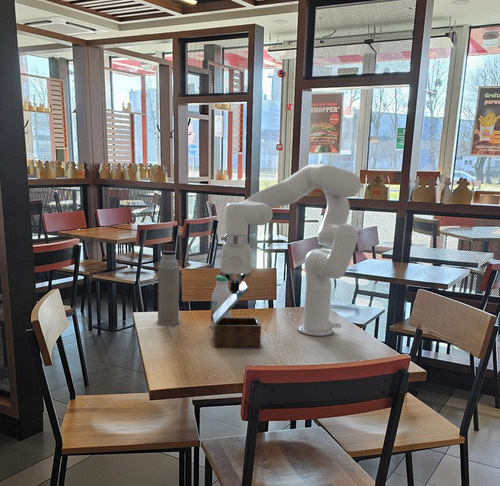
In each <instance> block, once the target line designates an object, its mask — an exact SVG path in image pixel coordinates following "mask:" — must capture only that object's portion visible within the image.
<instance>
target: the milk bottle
mask: <svg viewBox="0 0 500 486" xmlns="http://www.w3.org/2000/svg"><path fill="white" fill-rule="evenodd" d="M215 283H216V284H215V287H214V290H213V291H212V293H211V294H212V295H211V301H210V302H211V303H210V328H211V329H213V314H214V313H215V312H216V311H217V310H218V309H219V308H220V306H221V305H222V304H223V303H224V302H225V301H226V300H227V299H228V298H229V297H230V295H231V294H232V293H231V291H230V288H229V285H228V283H229V280H228V279H227V278H226V277H222V276H220V275H216V276H215ZM224 317H232V308H231V309H230V310H229V312H228V313H227V314H226V315H225V316H224Z"/></svg>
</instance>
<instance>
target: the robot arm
mask: <svg viewBox="0 0 500 486" xmlns="http://www.w3.org/2000/svg"><path fill="white" fill-rule="evenodd" d="M361 187H362V182H361V178H360V177H359V176H358V175H357V174H356V173H354V172H352V171H349V170H345V169H342V168H339V167H337V166H334V165H330V164H326V163H310V164H307V165H305V166H303V167H301V168H300V169H299V170H297V171H295V172H294V173H293V174H291V175H290V176H288V177H287V178H285V179H284V180H282V181H280V182H278V183H276V184H273V185H271V186H269V187H266V188H264V189H262V190H259V191H258V192H256V193H254V194H252V195H250V196H249V197H247V198H246V199H245V200H243V201H242V202H229V203H227V204H226V207H225V228H224V229H225V234H224V235H221V236H220V241H223V242H224V243H222V247H221V252H220V253H221V254H220V263H219V264H220V267H219V268H220V270H219V273H218V274H219V275H220V276H222V277H226V278H227V279H228V282H230V284H229V291H230V292H231V294H237V291H239V285H240V284H241V282H242V281H243V279H245V278H250V277H251V276H252V274H251V271H252V270H251V269H252V253H251V245H250V244H249V243H248V237H249V236H248V233H249V225H254V226H265V225H267V224H269V223H270V222H271V221H272V219H273V209H274V208H279V207H284V206H289V205H292V204H295V203H296V202H298V201H300V200H301V199H302V198H304V197H306V195H308V194H309V193H311V192H313V191H314V190H316V189H318V190H322V192H323V194H324V197H325V199H326V209H325V213H324V215H323V219H322V222H321V224H320V227H319V229H318V234H317V241H318V242H319V244H320V245H321V246H323V247H326V248H331V250H328V249H323V248H314V249H312V250H310V251H308V252H307V254H306V256H305V258H304V270H305V293H304V310H303V324H302V325H300V326H299V327H298V331H299V332H300V333H302V334H304V335H308V336H315V337H316V336H317V337H322V336H329V335H331V334H333V329H334V328H335V329H341V328H342V323H341V322H336V321H331V320H330V309H331V295H332V282H331V280H338V279H341V278H342V277H343V276H344V275H345V274H346V272H347V271H348V269H349V265H350V263H351V261H352V257H353V254H354V251H355V250H356V247H357V242H358V234H357V231H356V228H355V227H354V226H353V225H351V224H348V223H347V222H348V219H349V215H350V211H351V209H350V202H349V199H348V198H352V197H355V196H356V195H358V194H359V192H360V190H361ZM219 275H218V276H219ZM234 275H236V279H234Z"/></svg>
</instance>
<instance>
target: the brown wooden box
mask: <svg viewBox="0 0 500 486" xmlns="http://www.w3.org/2000/svg"><path fill="white" fill-rule="evenodd" d="M261 338H262V325H261V323H260V321H259V318H258V317H233V316H231V317H223V318H222V319H221V320H220V321H219V323H218V324H217V325H216V324H214V319H213V328H212V341H213V346H214V349H227V348H228V349H261V340H262V339H261Z"/></svg>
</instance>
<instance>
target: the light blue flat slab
mask: <svg viewBox="0 0 500 486" xmlns="http://www.w3.org/2000/svg"><path fill="white" fill-rule="evenodd" d="M249 289H250V288H249V286H248V284H247V283H246V282H245V280H242V281H241V282H240V283H239V291H237V294H232V293H230V294H231V295H230V297H229V298H228V299H227V300H226V301H225V302H224V303H223V304H222V305H221V306H220V308H219V309H218V310H217V311H216V312H215V313H214V314H213V319H214V324H216V325H217V324H218V323H219V321H220V320H221V319H222V318H223V317H224V316H225V315H226V314H227V313H228V312H229V310H230V309H231V310H232V309H233V307H234V306H235V305H236V304H237V303H238V302H239V301H240V300H241V298H242V297H243V296H245V294H246V293H247V292H248V291H249Z"/></svg>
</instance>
